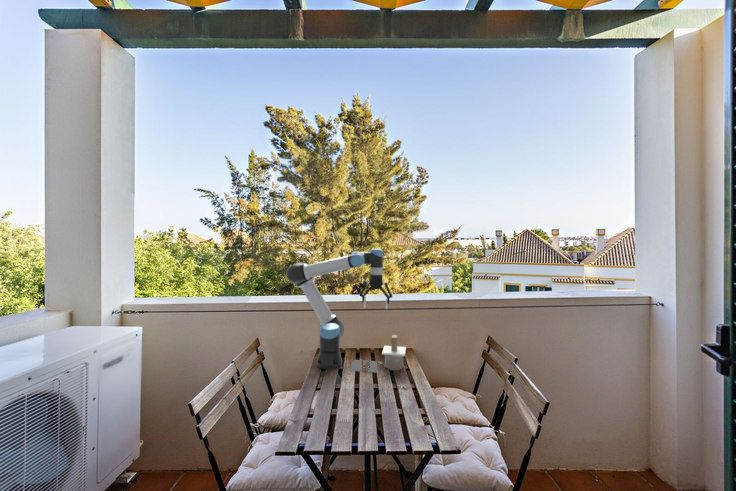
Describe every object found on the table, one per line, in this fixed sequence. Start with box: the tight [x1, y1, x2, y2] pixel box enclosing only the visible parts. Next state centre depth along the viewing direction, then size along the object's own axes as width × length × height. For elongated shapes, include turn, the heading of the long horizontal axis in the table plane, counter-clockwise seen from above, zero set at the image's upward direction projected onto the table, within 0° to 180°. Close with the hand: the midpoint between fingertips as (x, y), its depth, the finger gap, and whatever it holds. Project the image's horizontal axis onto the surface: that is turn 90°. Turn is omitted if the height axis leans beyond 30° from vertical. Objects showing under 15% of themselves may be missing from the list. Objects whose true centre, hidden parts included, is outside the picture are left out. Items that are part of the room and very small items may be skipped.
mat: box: [349, 359, 383, 374], centre depth 217 cm, size 17×17×1 cm
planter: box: [384, 355, 404, 371], centre depth 217 cm, size 11×11×10 cm
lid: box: [381, 334, 407, 357], centre depth 216 cm, size 13×13×9 cm
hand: (375, 308), depth 229 cm, fingers open, 13 cm apart
